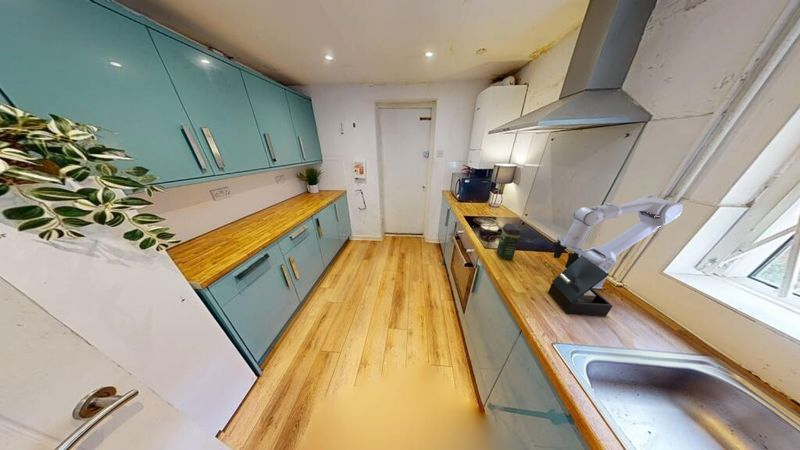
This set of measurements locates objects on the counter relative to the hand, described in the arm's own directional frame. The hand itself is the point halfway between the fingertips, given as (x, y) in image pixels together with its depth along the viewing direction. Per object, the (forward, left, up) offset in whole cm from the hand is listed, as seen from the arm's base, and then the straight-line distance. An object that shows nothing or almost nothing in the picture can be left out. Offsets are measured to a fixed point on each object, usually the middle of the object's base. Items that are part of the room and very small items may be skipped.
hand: (561, 262), depth 88 cm
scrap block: (-3, +12, -10) cm, 16 cm away
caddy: (0, +14, -10) cm, 18 cm away
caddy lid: (+4, +14, +2) cm, 15 cm away
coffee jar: (+14, -20, -11) cm, 27 cm away
